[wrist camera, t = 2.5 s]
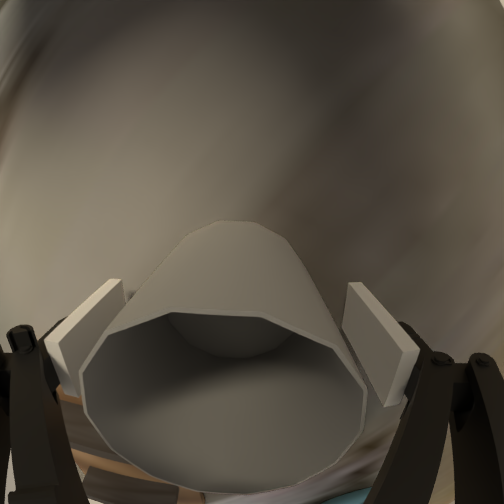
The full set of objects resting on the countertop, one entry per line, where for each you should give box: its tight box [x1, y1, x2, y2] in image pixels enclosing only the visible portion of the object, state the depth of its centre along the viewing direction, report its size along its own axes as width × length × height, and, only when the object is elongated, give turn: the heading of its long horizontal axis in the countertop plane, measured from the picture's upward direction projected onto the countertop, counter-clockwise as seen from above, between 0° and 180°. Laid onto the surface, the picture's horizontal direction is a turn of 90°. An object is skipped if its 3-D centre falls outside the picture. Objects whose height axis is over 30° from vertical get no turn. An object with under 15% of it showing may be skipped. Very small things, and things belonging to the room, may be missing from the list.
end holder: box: [56, 384, 205, 504], centre depth 18 cm, size 22×14×5 cm, turn 179°
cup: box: [79, 220, 368, 495], centre depth 12 cm, size 8×8×10 cm
